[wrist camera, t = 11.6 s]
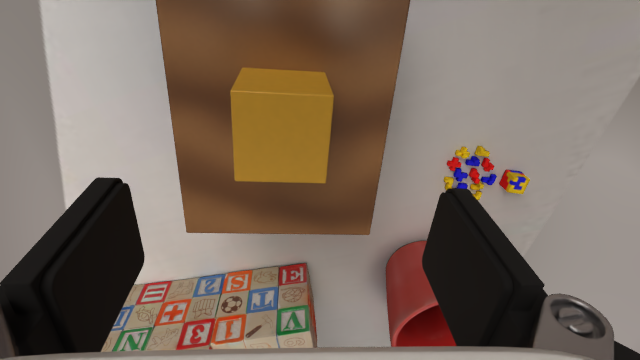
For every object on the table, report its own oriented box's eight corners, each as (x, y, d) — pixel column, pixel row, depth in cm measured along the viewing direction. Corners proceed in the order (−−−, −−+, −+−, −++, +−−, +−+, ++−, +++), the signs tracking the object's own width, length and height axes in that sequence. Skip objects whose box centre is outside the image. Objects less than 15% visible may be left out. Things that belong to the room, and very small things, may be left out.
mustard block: (241, 67, 22) (230, 90, 17) (325, 71, 22) (334, 95, 18) (244, 144, 24) (234, 181, 20) (319, 147, 24) (326, 184, 20)
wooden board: (151, -95, 19) (141, -101, 17) (414, -69, 20) (423, -72, 19) (191, 221, 28) (186, 233, 27) (366, 223, 30) (369, 235, 28)
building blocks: (454, 142, 35) (461, 150, 33) (529, 152, 36) (540, 159, 34) (433, 199, 38) (439, 208, 36) (503, 206, 39) (511, 216, 37)
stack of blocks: (307, 260, 40) (313, 362, 30) (314, 299, 44) (322, 404, 33) (116, 287, 40) (54, 400, 30) (137, 324, 43) (88, 438, 33)
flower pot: (434, 306, 46) (467, 381, 37) (356, 286, 43) (373, 362, 35) (482, 244, 41) (532, 313, 33) (398, 217, 38) (429, 286, 30)
